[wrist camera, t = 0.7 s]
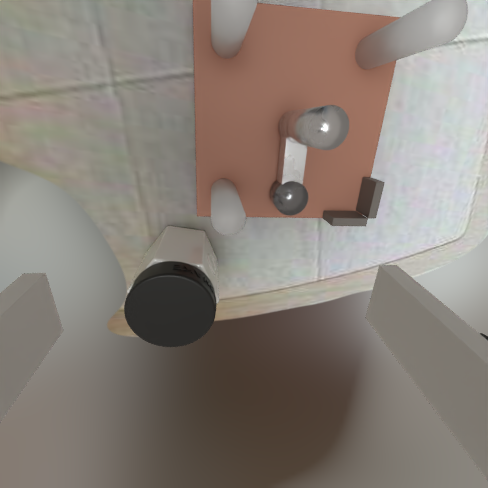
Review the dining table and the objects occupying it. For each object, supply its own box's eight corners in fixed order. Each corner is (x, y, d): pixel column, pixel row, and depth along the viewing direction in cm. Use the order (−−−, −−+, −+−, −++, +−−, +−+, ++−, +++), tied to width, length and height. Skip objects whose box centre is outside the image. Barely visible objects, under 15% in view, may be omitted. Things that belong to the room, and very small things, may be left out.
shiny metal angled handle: (298, 208, 33) (332, 241, 24) (268, 208, 32) (290, 241, 23) (310, 111, 29) (357, 106, 20) (276, 109, 28) (307, 103, 19)
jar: (224, 273, 38) (230, 334, 27) (168, 293, 38) (151, 361, 27) (199, 213, 34) (193, 256, 23) (137, 236, 35) (103, 288, 24)
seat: (193, 5, 26) (181, -80, 15) (393, 24, 29) (506, -37, 18) (197, 211, 34) (191, 253, 23) (353, 213, 36) (415, 252, 25)
